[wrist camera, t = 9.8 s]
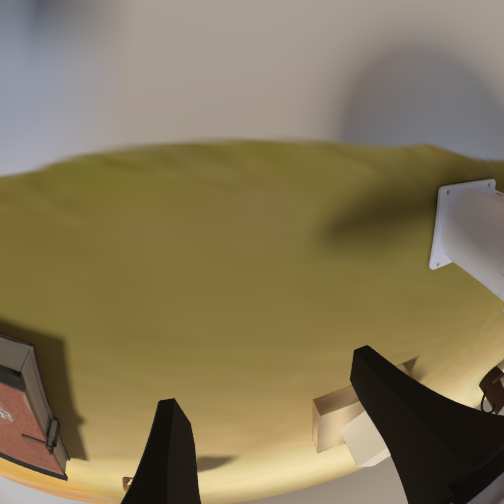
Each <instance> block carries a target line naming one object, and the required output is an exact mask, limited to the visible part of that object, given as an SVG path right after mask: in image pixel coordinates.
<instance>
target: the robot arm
mask: <svg viewBox="0 0 504 504" xmlns="http://www.w3.org/2000/svg"><path fill="white" fill-rule="evenodd" d="M495 185H496V182H495V180H494V179H486V180H479V181H472V182H466V183H459V184H453V185H447V186H442V187H440V188H439V191H438V201H437V212H436V221H435V230H434V237H433V244H432V251H431V257H430V263H429V267H430V268H431V269H432V270H434V269H436V268H439V267H442V266H444V265H447V264H449V263H452V262H454V263H455V264H457V265H458V266H460V267H461V268H462V269H464V270H465V271H466V272H468V273H469V274H470V275H471V276H473V277H474V278H475V279H477V280H478V281H479V282H480V283H482V284H483V285H484V286H486V287H487V288H488V289H489V290H490V291H492V292H493V293H494V294H495V295H497V296H498V297H499V298H500V299H501V300H503V301H504V193H502V192H500V191H497V190H495ZM503 312H504V310H503ZM350 381H351V383H352V386H353V388H354V390H355V392H356V395H357V397H358V399H359V401H360V403H361V404H362V406H363V407H364V409H365V411H366V412H367V414H368V416H369V417H370V419H371V420H372V422H373V424H374V425H375V427H376V429H377V430H378V432H379V433H380V435H381V437H382V438H383V440H384V442H385V444H386V446H387V448H388V450H389V453H390V455H391V457H392V459H393V462H394V464H395V466H396V469H397V471H398V474H399V476H400V479H401V482H402V485H403V488H404V491H405V494H406V497H407V500H408V504H504V416H502V415H497V414H492V413H488V412H484V411H480V410H477V409H474V408H471V407H468V406H465V405H463V404H460V403H457V402H455V401H453V400H451V399H448V398H446V397H444V396H442V395H440V394H438V393H436V392H434V391H433V390H431V389H429V388H427V387H426V386H424V385H422V384H421V383H419V382H418V381H416V380H415V379H413V378H411V377H410V376H409V375H407V374H406V373H404V372H403V371H401V370H400V369H399V368H397V367H396V366H394V365H393V364H392V363H390V362H389V361H388V360H386V359H385V358H384V357H382V356H381V355H380V354H379V353H377V352H376V351H375V350H373V349H372V348H371V347H370V346H368V345H366V346H363V347H361V348H358V349H356V350H354V355H353V362H352V369H351V376H350ZM121 504H201V500H200V494H199V487H198V476H197V465H196V453H195V443H194V438H193V433H192V428H191V423H190V422H189V420H188V419H187V417H186V415H185V414H184V412H183V411H182V409H181V408H180V406H179V405H178V403H177V401H176V400H175V398H173V399H166V400H160V401H159V402H158V405H157V409H156V413H155V417H154V421H153V424H152V428H151V431H150V435H149V438H148V441H147V444H146V447H145V450H144V453H143V456H142V458H141V461H140V464H139V466H138V469H137V471H136V474H135V476H134V478H133V480H132V483H131V485H130V487H129V489H128V491H127V493H126V495H125V497H124V498H123V500H122V502H121Z"/></svg>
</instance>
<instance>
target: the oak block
mask: <svg viewBox="0 0 504 504" xmlns="http://www.w3.org/2000/svg"><path fill="white" fill-rule="evenodd" d="M396 367H397V368H399V369H400V370H401V371H403V372H404V373H406V374H407V375H409V376H410V377H411V378H412V376H411V375H410V373H409V372H408V371H407V369H406V368H405V367H404V365H403V364H401V365H399V366H396ZM364 411H365V409H364V407H363V406H362V404H361V403H360V401H359V399H358V397H357V395H356V392H355V390H354V388H353V386H350V387H347V388H344V389H342V390H339V391H336V392H334V393H331V394H328V395H325V396H322V397H319V398H316V399H313V430H312V441H313V444H314V446H315V448H316V451H317V453H320V452H323V451H326V450H329V449H331V448H334V447H337V446H339V445H342V444H345V443H346V442H345V440H344V438H343V436H342V434H341V432H340V430H339V429H340V428H342V427H343V426H345V425H346V424H347V423H349V422H350V421H352V420H353V419H354V418H356V417H357V416H358V415H360V414H361V413H363V412H364Z"/></svg>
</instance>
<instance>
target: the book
mask: <svg viewBox="0 0 504 504" xmlns="http://www.w3.org/2000/svg"><path fill="white" fill-rule="evenodd" d="M59 430H60V425H59V422H58V420H57V418H53V415H52V412H51V409H50V406H49V403H48V399H47V396H46V393H45V389H44V386H43V382H42V378H41V374H40V370H39V366H38V362H37V357H36V352H35V348H34V345H33V344H30V343H27V342H24V341H21V340H18V339H15V338H12V337H9V336H7V335H4V334H1V333H0V457H1V458H3V459H6V460H8V461H10V462H13V463H15V464H18V465H20V466H23V467H25V468H28V469H31V470H34V471H37V472H39V473H42V474H45V475H49V476H52V477H55V478H58V479H62V480H65V481H67V480H68V477H67V475H66V473H65V469H66V461H67V460H69V461H70V459H69V457H68V454H67V452H66V450H65V447H64V445H63V442H62V440H61V437H60V435H59Z"/></svg>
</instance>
